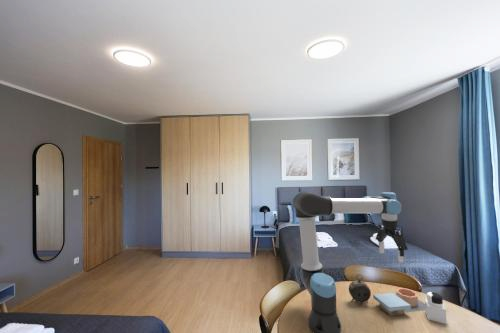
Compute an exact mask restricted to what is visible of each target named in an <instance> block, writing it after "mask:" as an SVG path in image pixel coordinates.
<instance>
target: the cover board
mask: <svg viewBox="0 0 500 333" xmlns="http://www.w3.org/2000/svg"><path fill="white" fill-rule="evenodd" d="M395 294H396V293H393V292H386V293H378V294H377V293H376V294H373V295H372V296H373V299H374V300H375V301H376V302H378V303H380V304H381V305H383V306H384V307H385V308H386V309H387V310H389V311H396V310H404V309H411V305H410V304H408V303H407V302H405V301H404V300H402V299H401V298H399V297H398V296H397V295H395Z"/></svg>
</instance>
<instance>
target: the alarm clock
mask: <svg viewBox="0 0 500 333" xmlns="http://www.w3.org/2000/svg"><path fill="white" fill-rule="evenodd" d="M358 276H361V279H360V278H359V279H358ZM355 277H356V280H353V281H352V282H350V284H349V286H348V292H349V295H350V296H351V297H352V299H351V302H352V303H353V301H355V302H357V303H360V306H363V303H369V302H368V301H369V299H370V298H371V295H372V292H371V289H370V287H369V286H368V285H367V283H366V282H364V281H363V275H362V274H357V275H356V276H355Z"/></svg>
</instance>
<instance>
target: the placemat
mask: <svg viewBox="0 0 500 333" xmlns="http://www.w3.org/2000/svg"><path fill="white" fill-rule="evenodd" d="M394 294H395V295H396V293H394ZM421 311H426V309H425V302H423V301H421V300H419V299H418V306H417V307H411V309H404V313H412V312H413V313H414V312H421Z"/></svg>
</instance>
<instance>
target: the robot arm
mask: <svg viewBox="0 0 500 333" xmlns="http://www.w3.org/2000/svg"><path fill="white" fill-rule="evenodd" d="M291 202H292V204H291V205H292V206H293V208H294V212H295V218H296V219H298V226H299V233H300V234H299V235H300V242H301V244H300V245H301V254H302V263H300V271H299V278H300V280H301V283H302V285H304V287H305V289H306V290H307V291H308V293H309V295H310V302H311V303H310V304H311V310H310V313H309V316H308V320H307V321H308V322H307V323H308V328H309V330H310V331H311V332H312V333H313V332H314V333H342V324H341V320H340V318H339V315H338V312H337V311H338V310H337V287H336V286H337V285H336V282H335V279H334V278H333V277H332V276H331V275H329V274H327V273H324V266H323V264H322V263H321V262H320V258H319V246H318V239H317V230H316V229H317V228H316V218H317V217H320V216H321V217H322V216H323V217H325V216H326V217H327V216H331V215H332V214H381V225H379V226H378V230H377V234H376V236H375V240H377V241H378V247H379V248H378V249H379V254H385V239H386V238H387V236H389V237H391V239H392V240H393V242H394V243H395V244H396V246H397V248H398V249H397V262H398V263H404V262H405V261H404V257H405V251H407V250H408V249H409V248H408V246H407V244H406V242H405V238H404V237H403V233H402V232H403V231H402V230H397V228H398V215H399V214H400V213H401V212H402V204H401V202H400V201H399V200H398V199H397V194H396V193H395V192H390V191H388V192H386V191H384V192H380V195H377V196H374V195H373V196H369V195H367V196H362V197H361V198H356V197H355V198H353V197H351V198H348V197H345V198H344V197H343V198H341V197H339V198H336V197H331V196H330V195H320V194H316V193H313V192H308V191H299V192H297V193H296V194H295V195H294V196H293V198H292V200H291Z"/></svg>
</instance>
